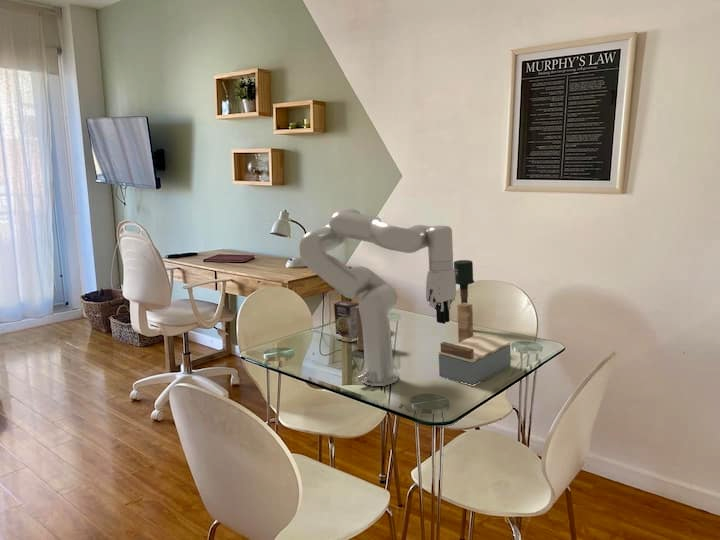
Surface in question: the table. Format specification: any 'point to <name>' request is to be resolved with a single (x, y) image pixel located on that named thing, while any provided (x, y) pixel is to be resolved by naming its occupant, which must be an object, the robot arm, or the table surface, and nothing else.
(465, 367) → the grey open box
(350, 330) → the coffee box
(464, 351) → the lid
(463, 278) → the stick grenade
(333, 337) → the table surface
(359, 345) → the wooden block
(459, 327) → the brown wooden bar
